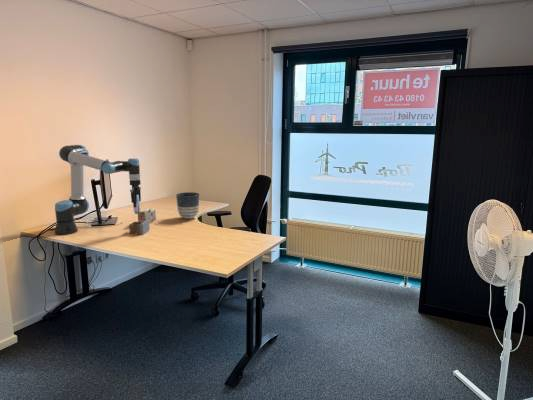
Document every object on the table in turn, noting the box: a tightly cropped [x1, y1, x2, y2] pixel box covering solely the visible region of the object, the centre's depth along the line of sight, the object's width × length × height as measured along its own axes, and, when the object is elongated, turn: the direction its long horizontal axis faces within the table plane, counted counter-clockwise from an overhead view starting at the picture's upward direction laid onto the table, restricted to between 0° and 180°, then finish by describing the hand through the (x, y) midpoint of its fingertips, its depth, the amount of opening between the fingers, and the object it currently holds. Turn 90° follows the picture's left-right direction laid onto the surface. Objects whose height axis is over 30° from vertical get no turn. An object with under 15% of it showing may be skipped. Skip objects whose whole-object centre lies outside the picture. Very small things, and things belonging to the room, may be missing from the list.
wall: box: [140, 220, 150, 236], centre depth 281 cm, size 2×12×8 cm, turn 176°
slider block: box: [128, 221, 143, 235], centre depth 282 cm, size 9×9×7 cm
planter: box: [175, 191, 200, 220], centre depth 324 cm, size 20×20×21 cm
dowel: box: [134, 195, 141, 215], centre depth 278 cm, size 4×4×14 cm
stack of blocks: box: [137, 208, 157, 225], centre depth 308 cm, size 21×6×12 cm, turn 174°
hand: (136, 210), depth 279 cm, fingers closed on dowel, 3 cm apart
